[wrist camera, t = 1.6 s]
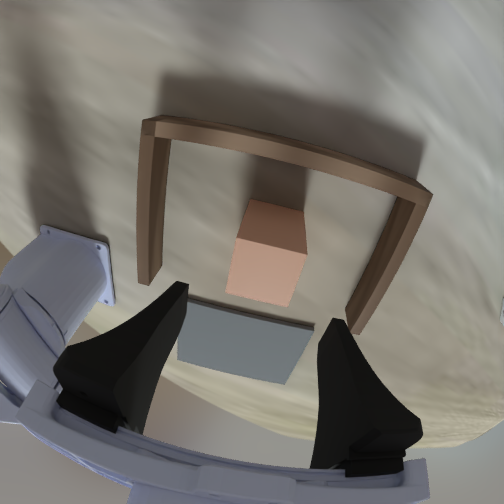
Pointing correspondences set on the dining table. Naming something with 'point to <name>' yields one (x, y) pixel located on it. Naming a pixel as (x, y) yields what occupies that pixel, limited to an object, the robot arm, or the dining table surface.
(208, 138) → the open side frame
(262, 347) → the grey mat
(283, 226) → the terracotta block
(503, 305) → the skincare box
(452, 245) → the dining table surface
